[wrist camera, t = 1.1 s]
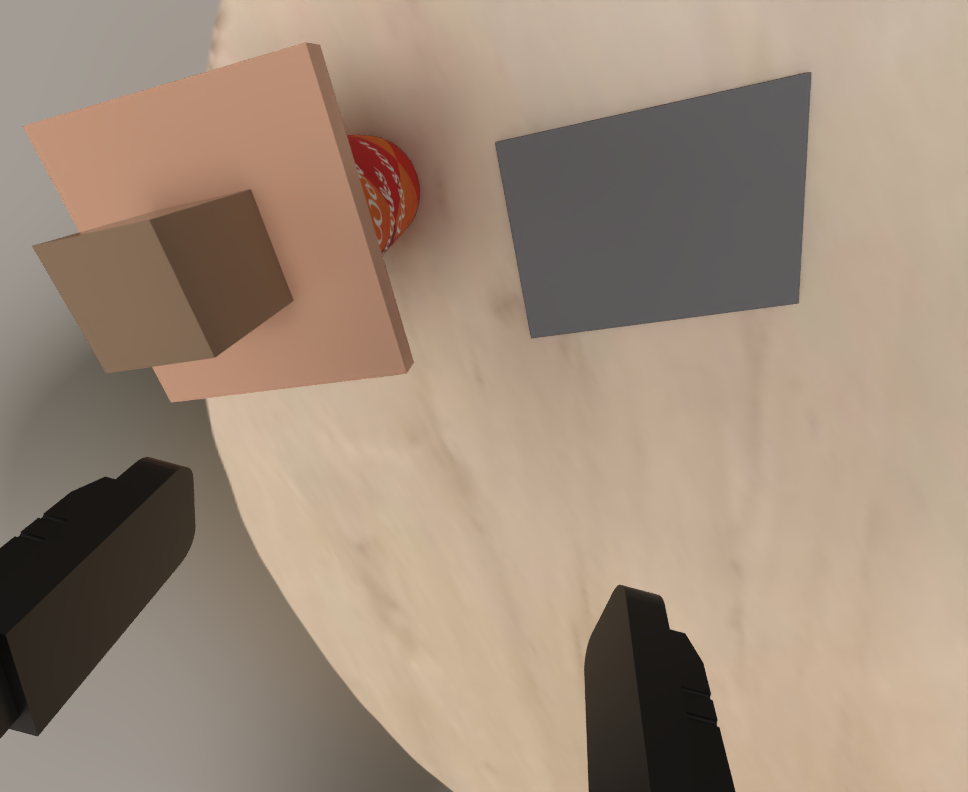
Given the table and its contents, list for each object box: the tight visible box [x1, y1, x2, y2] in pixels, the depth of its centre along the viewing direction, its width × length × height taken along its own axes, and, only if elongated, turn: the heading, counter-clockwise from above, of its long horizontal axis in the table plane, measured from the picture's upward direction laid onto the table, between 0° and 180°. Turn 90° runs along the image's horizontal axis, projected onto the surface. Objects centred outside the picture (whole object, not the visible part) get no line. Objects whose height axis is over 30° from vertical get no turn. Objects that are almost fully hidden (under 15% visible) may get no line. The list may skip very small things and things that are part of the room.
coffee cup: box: [347, 135, 420, 255], centre depth 27 cm, size 8×8×15 cm
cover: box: [23, 43, 414, 402], centre depth 18 cm, size 11×11×6 cm
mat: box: [495, 72, 811, 338], centre depth 32 cm, size 16×12×1 cm
